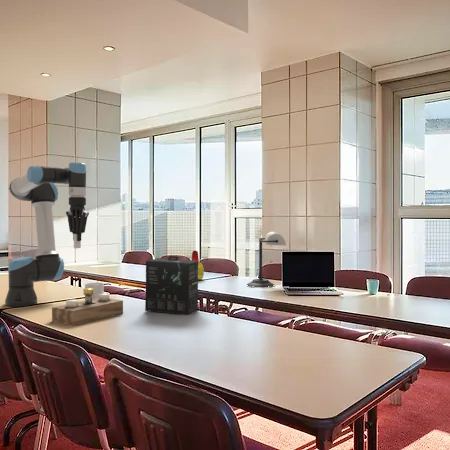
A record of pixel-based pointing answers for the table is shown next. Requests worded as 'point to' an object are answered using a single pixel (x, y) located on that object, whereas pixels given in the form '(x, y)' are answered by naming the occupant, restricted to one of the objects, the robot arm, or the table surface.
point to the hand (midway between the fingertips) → (77, 248)
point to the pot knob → (88, 295)
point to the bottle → (200, 266)
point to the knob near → (71, 303)
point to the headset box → (171, 286)
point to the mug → (96, 289)
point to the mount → (87, 311)
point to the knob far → (104, 297)
